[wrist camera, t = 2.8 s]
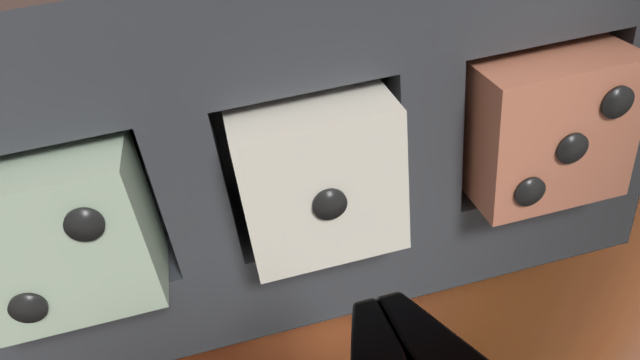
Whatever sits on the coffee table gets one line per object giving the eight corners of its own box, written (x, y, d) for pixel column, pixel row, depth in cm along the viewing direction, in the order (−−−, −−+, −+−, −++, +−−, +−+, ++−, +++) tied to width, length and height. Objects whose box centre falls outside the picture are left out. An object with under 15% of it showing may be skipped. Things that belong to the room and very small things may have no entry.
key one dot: (372, 70, 14) (408, 113, 12) (380, 195, 16) (412, 249, 14) (219, 100, 13) (230, 151, 11) (248, 225, 16) (261, 287, 13)
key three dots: (592, 25, 15) (662, 58, 13) (572, 150, 17) (629, 196, 15) (455, 53, 14) (505, 92, 12) (452, 178, 16) (494, 229, 14)
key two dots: (125, 119, 13) (118, 174, 11) (168, 244, 15) (168, 309, 13) (-47, 154, 13) (-87, 218, 11) (22, 278, 15) (-1, 352, 13)
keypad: (623, -123, 15) (716, -112, 12) (571, 190, 20) (627, 242, 18) (-166, 7, 12) (-251, 54, 10) (21, 324, 18) (-2, 405, 15)
